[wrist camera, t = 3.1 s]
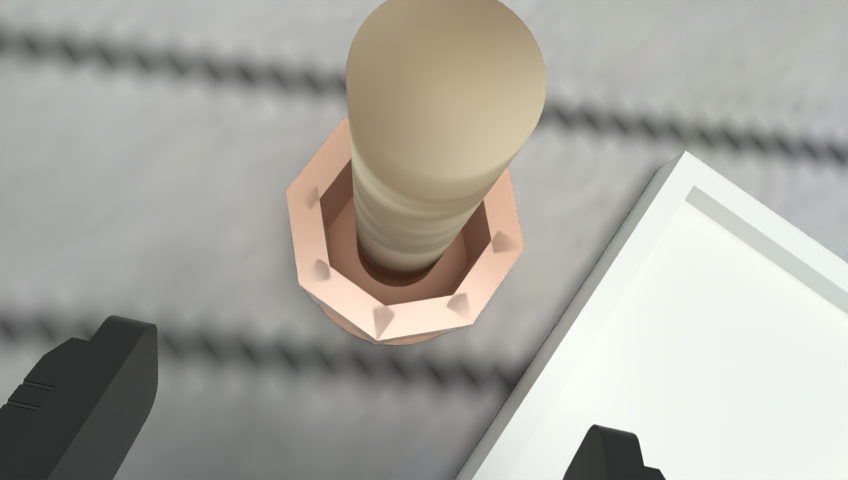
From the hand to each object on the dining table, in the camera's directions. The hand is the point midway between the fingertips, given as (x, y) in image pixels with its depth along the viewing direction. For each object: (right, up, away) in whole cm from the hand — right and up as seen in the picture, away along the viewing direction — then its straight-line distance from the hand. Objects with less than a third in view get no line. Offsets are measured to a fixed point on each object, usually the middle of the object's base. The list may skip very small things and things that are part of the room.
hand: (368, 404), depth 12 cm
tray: (+12, -5, +15) cm, 20 cm away
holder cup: (0, +3, +15) cm, 15 cm away
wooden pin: (0, +3, +14) cm, 14 cm away
